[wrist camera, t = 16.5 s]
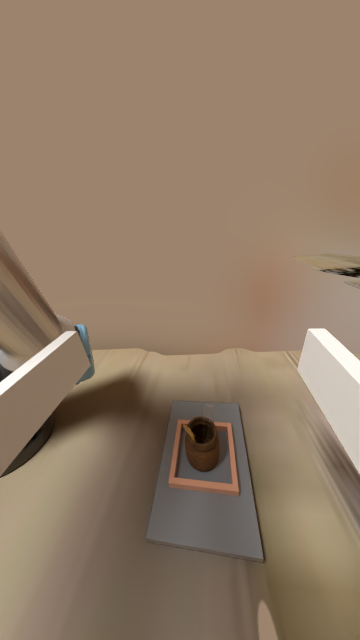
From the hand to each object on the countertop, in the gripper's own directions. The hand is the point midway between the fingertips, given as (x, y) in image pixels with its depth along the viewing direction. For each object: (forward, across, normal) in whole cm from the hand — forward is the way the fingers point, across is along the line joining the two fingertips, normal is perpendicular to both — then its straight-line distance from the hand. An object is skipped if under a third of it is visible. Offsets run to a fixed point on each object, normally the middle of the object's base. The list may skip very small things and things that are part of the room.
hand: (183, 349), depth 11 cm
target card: (+10, 0, -32) cm, 33 cm away
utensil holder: (+10, 0, -31) cm, 32 cm away
